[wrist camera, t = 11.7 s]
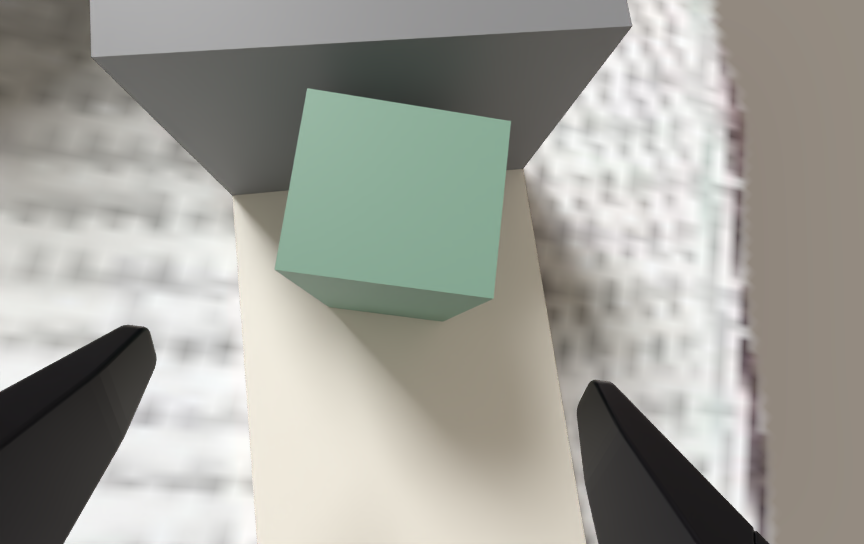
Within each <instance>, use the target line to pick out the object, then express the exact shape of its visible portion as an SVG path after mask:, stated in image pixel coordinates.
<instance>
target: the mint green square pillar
mask: <svg viewBox="0 0 864 544" xmlns="http://www.w3.org/2000/svg"><path fill="white" fill-rule="evenodd" d="M510 126H511V121H507V120H501V119H495V118H488V117H482V116H476V115H470V114H464V113H458V112H451V111H445V110H439V109H433V108H427V107H420V106H414V105H408V104H402V103H396V102H389V101H383V100H377V99H371V98H365V97H359V96H352V95H346V94H340V93H334V92H328V91H321V90H315V89H309V88H307V92H306V98H305V103H304V109H303V114H302V120H301V125H300V131H299V136H298V142H297V147H296V153H295V158H294V164H293V170H292V175H291V181H290V186H289V192H288V197H287V203H286V208H285V214H284V219H283V225H282V230H281V236H280V241H279V247H278V252H277V258H276V264H275V269H274V270H276V271H277V272H278V273H280V274H281V275H283V276H284V277H286V278H287V279H289V280H290V281H292V282H293V283H294V284H296V285H297V286H299V287H300V288H302V289H303V290H305V291H306V292H308V293H309V294H310V295H312V296H313V297H315V298H316V299H318V300H319V301H321V302H322V303H324V304H325V305H326V306H328V307H331V308H339V309H347V310H355V311H362V312H370V313H378V314H386V315H394V316H402V317H409V318H417V319H425V320H433V321H441V322H443V321H445V320H447V319H450V318H452V317H454V316H456V315H459V314H461V313H463V312H465V311H467V310H470V309H472V308H474V307H476V306H478V305H481V304H483V303H485V302H487V301H490V300H492V299H494V289H495V279H496V269H497V259H498V248H499V238H500V228H501V218H502V208H503V198H504V187H505V177H506V167H507V157H508V147H509V137H510Z"/></svg>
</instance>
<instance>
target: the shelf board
mask: <svg viewBox="0 0 864 544" xmlns="http://www.w3.org/2000/svg"><path fill="white" fill-rule="evenodd" d="M90 27H91V57H92V58H93V59H94V60H95V61H96V62H97V63H98V64H99V65H100V66H101V67H102V68H103V69H104V70H105V71H106V72H107V73H108V74H109V75H110V76H111V77H112V78H113V79H114V80H115V81H116V82H117V83H118V84H119V85H120V86H121V87H122V88H123V89H124V90H125V91H126V92H127V93H128V94H129V95H130V96H131V97H132V98H133V99H134V100H136V101H137V102H138V103H139V104H140V105H141V106H142V107H143V108H144V109H145V110H146V111H147V112H148V113H149V114H150V115H151V116H152V117H153V118H154V119H155V120H156V121H157V122H158V123H159V124H160V125H161V126H162V127H163V128H164V129H165V130H166V131H167V132H168V133H169V134H170V135H171V136H172V137H173V138H174V139H175V140H176V141H177V142H178V143H179V144H180V145H181V146H182V147H183V148H184V149H185V150H186V151H188V152H189V153H190V154H191V155H192V156H193V157H194V158H195V159H196V160H197V161H198V162H199V163H200V164H201V165H202V166H203V167H204V168H205V169H206V170H207V171H208V172H209V173H210V174H211V175H212V176H213V177H214V178H215V179H216V180H217V181H218V182H219V183H220V184H221V185H222V186H223V187H224V188H225V189H226V190H227V191H228V192H229V193H230V194H231V195H232V197H233V211H234V225H235V239H236V253H237V267H238V281H239V295H240V309H241V323H242V337H243V351H244V365H245V379H246V393H247V408H248V422H249V436H250V450H251V464H252V478H253V492H254V506H255V520H256V534H257V544H586V541H585V535H584V529H583V523H582V517H581V511H580V505H579V499H578V493H577V487H576V482H575V476H574V470H573V464H572V458H571V452H570V446H569V440H568V434H567V428H566V422H565V416H564V410H563V404H562V398H561V392H560V386H559V380H558V374H557V368H556V362H555V356H554V350H553V344H552V338H551V332H550V326H549V320H548V314H547V308H546V302H545V296H544V290H543V285H542V279H541V273H540V267H539V261H538V255H537V249H536V243H535V237H534V231H533V225H532V219H531V213H530V207H529V201H528V195H527V189H526V183H525V177H524V171H523V168H524V167H525V166H526V164H527V163H528V162H529V160H530V159H531V158H532V156H533V155H534V154H535V153H536V151H537V150H538V149H539V147H540V146H541V145H542V143H543V142H544V141H545V139H546V138H547V137H548V136H549V134H550V133H551V132H552V130H553V129H554V128H555V126H556V125H557V124H558V122H559V121H560V120H561V119H562V117H563V116H564V115H565V113H566V112H567V111H568V109H569V108H570V107H571V105H572V104H573V103H574V102H575V100H576V99H577V98H578V96H579V95H580V94H581V92H582V91H583V90H584V88H585V87H586V86H587V85H588V83H589V82H590V81H591V79H592V78H593V77H594V75H595V74H596V73H597V71H598V70H599V69H600V68H601V66H602V65H603V64H604V62H605V61H606V60H607V58H608V57H609V56H610V54H611V53H612V52H613V51H614V49H615V48H616V47H617V45H618V44H619V43H620V41H621V40H622V39H623V38H624V36H625V35H626V34H627V32H628V31H629V30H630V28H631V27H632V23H631V18H630V13H629V9H628V4H627V0H90ZM307 88H309V89H315V90H321V91H328V92H334V93H340V94H346V95H352V96H359V97H365V98H371V99H377V100H383V101H389V102H396V103H402V104H408V105H414V106H420V107H427V108H433V109H439V110H445V111H451V112H458V113H464V114H470V115H476V116H482V117H488V118H495V119H501V120H507V121H511V126H510V137H509V147H508V157H507V167H506V177H505V187H504V198H503V208H502V218H501V228H500V238H499V248H498V259H497V269H496V279H495V289H494V299H492V300H490V301H487V302H485V303H483V304H481V305H478V306H476V307H474V308H472V309H470V310H467V311H465V312H463V313H461V314H459V315H456V316H454V317H452V318H450V319H447V320H445V321H443V322H441V321H433V320H425V319H417V318H409V317H402V316H394V315H386V314H378V313H370V312H362V311H355V310H347V309H339V308H331V307H328V306H326V305H325V304H324V303H322V302H321V301H319V300H318V299H316V298H315V297H313V296H312V295H310V294H309V293H308V292H306V291H305V290H303V289H302V288H300V287H299V286H297V285H296V284H294V283H293V282H292V281H290V280H289V279H287V278H286V277H284V276H283V275H281V274H280V273H278V272H277V271H276V270H274V269H275V264H276V258H277V252H278V247H279V241H280V236H281V230H282V225H283V219H284V214H285V208H286V203H287V197H288V192H289V186H290V181H291V175H292V170H293V164H294V158H295V153H296V147H297V142H298V136H299V131H300V125H301V120H302V114H303V109H304V103H305V98H306V92H307Z"/></svg>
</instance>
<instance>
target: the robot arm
mask: <svg viewBox="0 0 864 544" xmlns="http://www.w3.org/2000/svg"><path fill="white" fill-rule="evenodd" d="M155 365H156V353H155V349H154V345H153V342H152V338H151V334H150V331H149V330H148V329H147V328H146V327H142V326H133V325H124V326H121V327H119V328H117V329H115V330H113V331H111V332H110V333H108V334H106V335H104V336H102V337H100V338H98V339H97V340H95V341H93V342H91V343H89V344H87V345H86V346H84V347H82V348H80V349H78V350H76V351H74V352H73V353H71V354H69V355H67V356H65V357H63V358H62V359H60V360H58V361H56V362H54V363H52V364H50V365H49V366H47V367H45V368H43V369H41V370H39V371H38V372H36V373H34V374H32V375H30V376H28V377H26V378H25V379H23V380H21V381H19V382H17V383H15V384H14V385H12V386H10V387H8V388H6V389H4V390H2V391H1V392H0V544H63V543H64V542H65V540H66V538H67V537H68V535H69V533H70V531H71V530H72V528H73V526H74V524H75V523H76V521H77V519H78V517H79V516H80V514H81V512H82V510H83V509H84V507H85V505H86V504H87V502H88V500H89V498H90V497H91V495H92V493H93V491H94V490H95V488H96V486H97V484H98V483H99V481H100V479H101V477H102V476H103V474H104V472H105V471H106V469H107V467H108V465H109V464H110V462H111V460H112V458H113V457H114V455H115V453H116V451H117V450H118V448H119V446H120V444H121V442H122V440H123V439H124V436H125V434H126V432H127V430H128V428H129V426H130V424H131V421H132V419H133V417H134V414H135V412H136V410H137V408H138V405H139V403H140V401H141V398H142V396H143V394H144V392H145V389H146V387H147V385H148V382H149V380H150V378H151V376H152V373H153V371H154V369H155ZM577 420H578V429H579V437H580V446H581V454H582V463H583V471H584V479H585V485H586V490H587V495H588V500H589V504H590V508H591V513H592V517H593V522H594V526H595V530H596V535H597V539H598V543H599V544H769V543H768V542H767V541H766V540H765V539H764V538H763V537H762V536H761V535H760V534H759V533H758V532H757V531H754V529H753V527H752V526H751V525H750V524H749V523H748V522H747V521H746V520H745V518H744V517H743V516H742V515H741V514H740V513H739V512H738V511H737V510H736V509H735V508H734V507H733V506H732V505H731V504H730V503H729V502H728V501H727V500H726V499H725V498H724V497H723V496H722V495H721V494H720V493H719V492H718V491H717V490H716V489H715V488H714V487H713V486H712V485H711V484H710V482H709V481H708V480H707V479H706V478H705V477H704V476H703V475H702V474H701V473H700V472H699V471H698V470H697V469H696V468H695V467H694V466H693V465H692V464H691V463H690V462H689V461H688V460H687V459H686V458H685V457H684V456H683V455H682V454H681V453H680V452H679V451H678V450H677V449H676V448H675V447H674V445H673V444H672V443H671V442H670V441H669V440H668V439H667V438H666V437H665V436H664V435H663V434H662V433H661V432H660V431H659V430H658V429H657V428H656V427H655V426H654V425H653V424H652V423H651V422H650V421H649V420H648V419H647V418H646V417H645V416H644V415H643V414H642V413H641V412H640V411H639V410H638V408H637V407H636V406H635V405H634V404H633V403H632V402H631V401H630V400H629V399H628V398H627V397H626V396H625V395H624V394H623V393H622V392H621V391H620V390H619V389H618V388H617V387H616V386H615V385H614V384H613V383H611V382H608V381H600V380H592V381H591V382H590V383H589V384H588V386H587V388H586V390H585V392H584V394H583V396H582V398H581V400H580V402H579V404H578V407H577Z"/></svg>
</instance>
